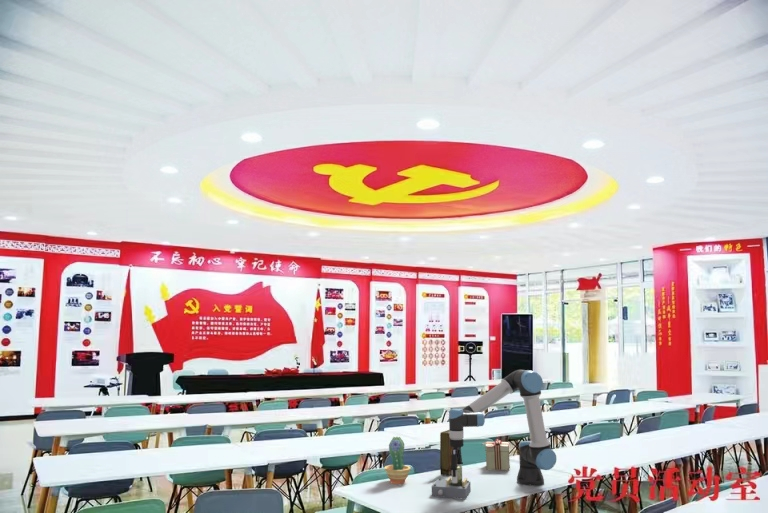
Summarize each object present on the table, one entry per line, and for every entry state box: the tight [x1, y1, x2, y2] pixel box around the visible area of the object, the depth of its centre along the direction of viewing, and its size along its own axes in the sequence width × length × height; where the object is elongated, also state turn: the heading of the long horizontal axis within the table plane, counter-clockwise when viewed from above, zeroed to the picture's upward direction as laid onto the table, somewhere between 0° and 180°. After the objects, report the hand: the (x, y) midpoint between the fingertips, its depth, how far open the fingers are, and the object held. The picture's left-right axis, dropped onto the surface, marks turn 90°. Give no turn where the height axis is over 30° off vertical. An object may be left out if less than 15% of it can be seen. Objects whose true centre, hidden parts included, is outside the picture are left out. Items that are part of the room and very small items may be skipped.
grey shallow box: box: [431, 476, 472, 500], centre depth 301 cm, size 18×18×8 cm
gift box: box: [480, 438, 511, 471], centre depth 365 cm, size 17×18×17 cm
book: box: [439, 429, 453, 477], centre depth 350 cm, size 16×6×25 cm, turn 148°
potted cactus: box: [384, 436, 412, 485], centre depth 328 cm, size 15×15×25 cm
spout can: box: [452, 465, 463, 487], centre depth 302 cm, size 6×6×14 cm
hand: (456, 479), depth 302 cm, fingers open, 13 cm apart
